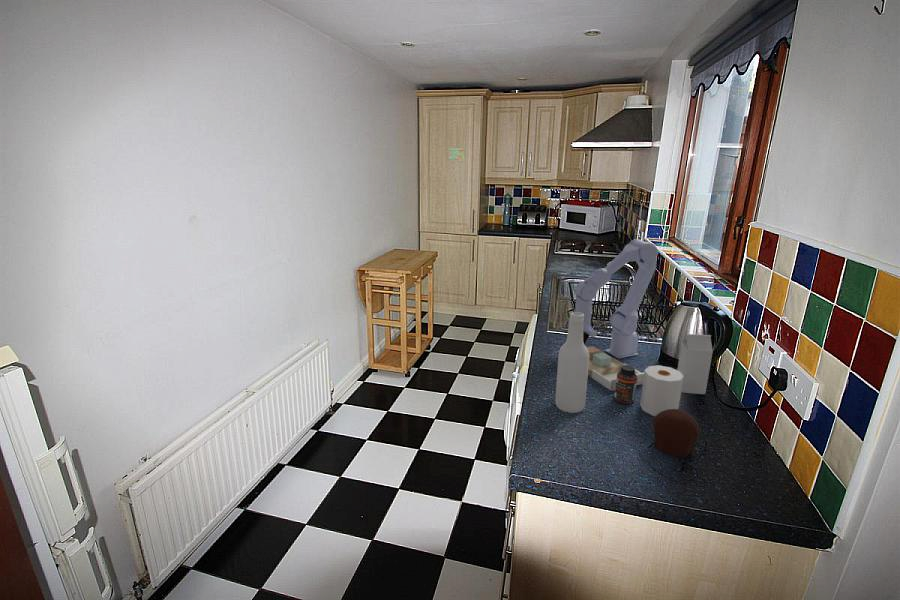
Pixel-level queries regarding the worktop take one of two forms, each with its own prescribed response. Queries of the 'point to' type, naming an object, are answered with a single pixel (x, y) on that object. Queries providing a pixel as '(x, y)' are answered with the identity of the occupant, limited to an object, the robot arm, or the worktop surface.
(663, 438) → the muffin
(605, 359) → the sage green cube
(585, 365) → the alcohol
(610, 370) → the beech board
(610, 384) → the tray
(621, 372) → the supplement bottle
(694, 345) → the milk carton
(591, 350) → the salmon pink cube
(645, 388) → the toilet paper
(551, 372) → the worktop surface
